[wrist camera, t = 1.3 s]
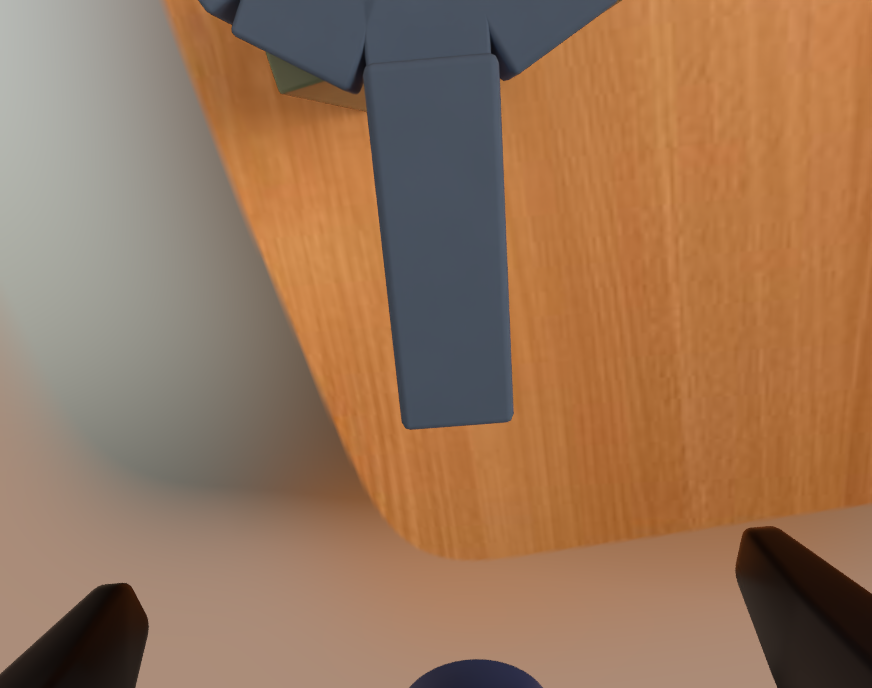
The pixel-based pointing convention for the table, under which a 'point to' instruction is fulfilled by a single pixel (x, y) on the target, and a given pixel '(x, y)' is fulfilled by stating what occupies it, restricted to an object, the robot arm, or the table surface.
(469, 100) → the ring
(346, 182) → the table surface
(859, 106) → the table surface
